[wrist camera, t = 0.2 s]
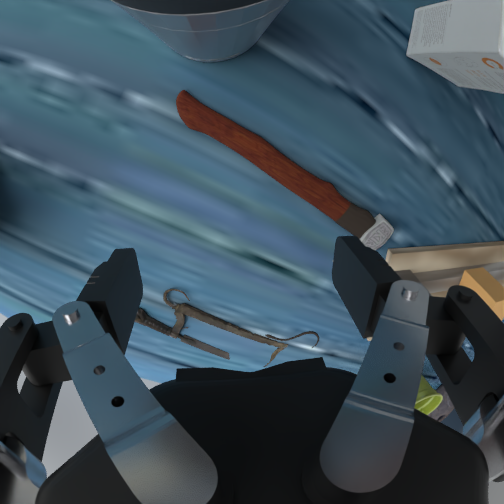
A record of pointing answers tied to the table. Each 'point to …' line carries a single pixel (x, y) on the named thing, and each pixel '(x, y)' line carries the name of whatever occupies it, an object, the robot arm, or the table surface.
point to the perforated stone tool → (442, 406)
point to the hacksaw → (202, 316)
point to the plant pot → (427, 398)
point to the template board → (446, 264)
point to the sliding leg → (485, 288)
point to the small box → (461, 42)
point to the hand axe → (285, 171)
